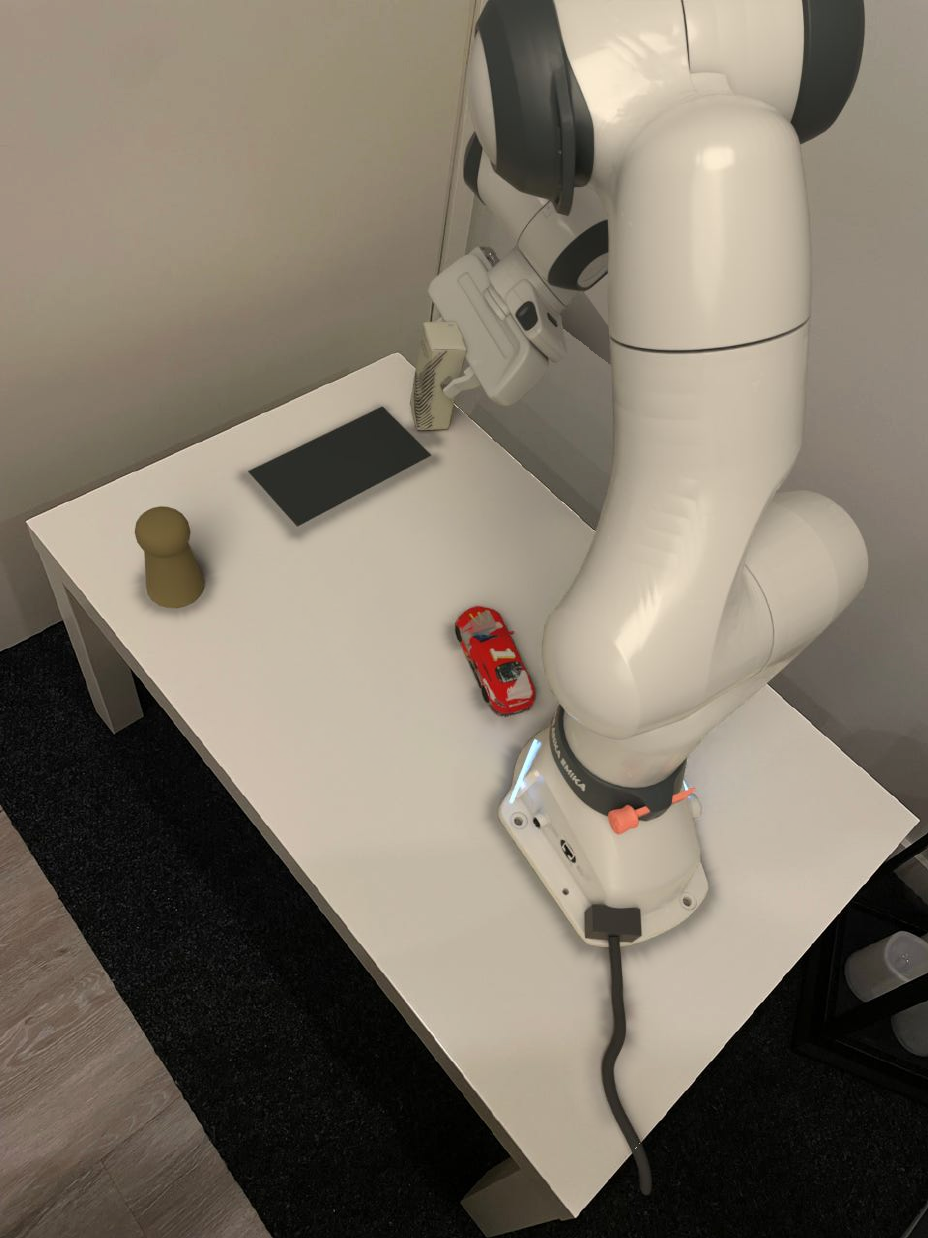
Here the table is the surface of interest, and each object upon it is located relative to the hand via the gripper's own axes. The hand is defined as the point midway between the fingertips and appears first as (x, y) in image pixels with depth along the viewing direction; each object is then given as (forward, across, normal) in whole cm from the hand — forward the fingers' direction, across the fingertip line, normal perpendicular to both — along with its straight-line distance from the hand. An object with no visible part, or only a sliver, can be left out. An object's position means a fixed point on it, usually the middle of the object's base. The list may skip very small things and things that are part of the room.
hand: (434, 373), depth 104 cm
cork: (+31, +15, -19) cm, 39 cm away
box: (+5, 0, +5) cm, 7 cm away
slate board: (+15, +4, -3) cm, 16 cm away
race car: (+11, +35, +2) cm, 37 cm away
